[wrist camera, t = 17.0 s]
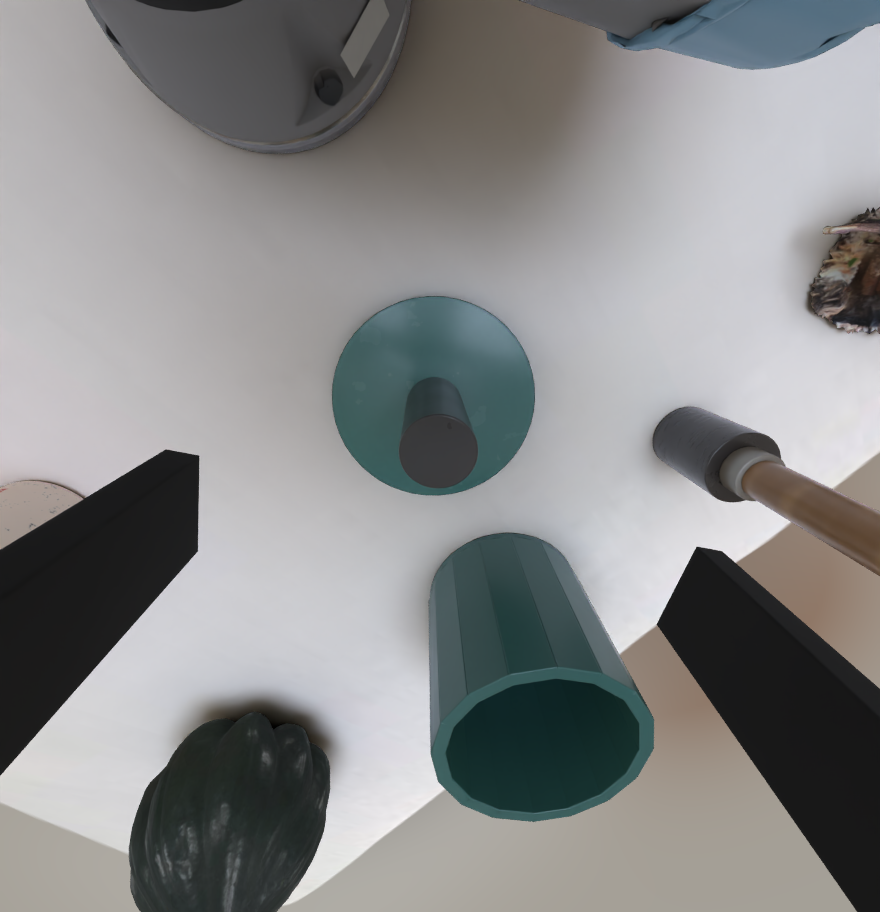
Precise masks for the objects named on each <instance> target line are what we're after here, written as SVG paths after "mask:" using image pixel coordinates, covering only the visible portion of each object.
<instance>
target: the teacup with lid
mask: <svg viewBox="0 0 880 912" xmlns="http://www.w3.org/2000/svg"><path fill="white" fill-rule="evenodd" d="M82 500H83V498H82V497H80V496H79V495H77V494H75V493H74V492H72V491H70V490H68V489H65V488H63V487H60V486H58V485H54V484H51V483H46V482H41V481H20V482H14V483H10V484H7V485H4V486H2V487H0V549H2V548H4V547H5V546H7V545H9V544H10V543H12V542H14V541H15V540H17V539H19V538H20V537H22V536H24V535H25V534H27V533H29V532H30V531H32V530H34V529H35V528H37V527H39V526H40V525H42V524H43V523H45V522H47V521H48V520H50V519H52V518H53V517H55V516H57V515H58V514H60V513H62V512H63V511H65V510H67V509H68V508H70V507H72V506H73V505H75V504H77V503H78V502H80V501H82Z"/></svg>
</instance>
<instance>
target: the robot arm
mask: <svg viewBox="0 0 880 912" xmlns="http://www.w3.org/2000/svg"><path fill="white" fill-rule="evenodd" d="M85 1H86V2H87V4H88V6H89V8H90V10H91V11H92V13H93V15H94V17H95V19H96V20H97V22H98V23H99V25H100V27H101V28H102V30H103V31H104V33H105V34H106V36H107V37H108V39H109V40H110V42H111V43H112V45H113V46H114V47H115V49H116V50H117V52H118V53H119V54H120V56H121V57H122V58H123V60H124V61H125V62H126V63H127V65H128V66H129V67H130V69H131V70H132V71H133V72H134V73H135V74H136V75H137V77H138V78H139V79H140V80H141V81H142V82H143V83H144V84H145V85H146V86H147V87H148V88H149V89H150V90H151V91H152V92H153V93H154V94H155V95H156V96H157V97H158V98H159V99H160V100H162V101H163V102H164V103H165V104H167V105H168V106H169V107H170V108H172V109H173V110H174V111H175V112H177V113H178V114H180V115H181V116H182V117H184V118H185V119H186V120H188V121H189V122H190V123H192V124H193V125H195V126H196V127H198V128H199V129H201V130H202V131H204V132H206V133H207V134H209V135H211V136H213V137H215V138H216V139H218V140H221V141H223V142H225V143H228V144H230V145H233V146H236V147H239V148H242V149H245V150H250V151H255V152H259V153H270V154H287V153H294V152H301V151H305V150H309V149H312V148H315V147H318V146H320V145H323V144H325V143H328V142H329V141H331V140H333V139H335V138H337V137H339V136H340V135H341V134H343V133H344V132H346V131H347V130H349V129H350V128H351V127H352V126H353V125H354V124H356V123H357V122H358V121H359V120H360V119H361V118H362V117H363V116H364V115H365V114H366V113H367V112H368V110H369V109H370V108H371V107H372V106H373V104H374V103H375V102H376V100H377V99H378V97H379V96H380V95H381V93H382V91H383V90H384V88H385V86H386V84H387V83H388V81H389V79H390V77H391V75H392V73H393V70H394V68H395V66H396V63H397V61H398V58H399V55H400V53H401V50H402V46H403V43H404V39H405V35H406V32H407V26H408V21H409V16H410V8H411V0H85ZM519 1H522V2H525V3H528V4H531V5H534V6H536V7H539V8H542V9H545V10H548V11H551V12H554V13H556V14H559V15H562V16H565V17H568V18H571V19H574V20H576V21H579V22H582V23H585V24H588V25H591V26H594V27H596V28H599V29H602V30H605V31H606V32H607V39H608V40H609V41H610V42H612V43H613V44H615V45H617V46H618V47H620V48H624V49H628V50H633V51H640V50H649V49H654V48H660V49H664V50H668V51H671V52H675V53H679V54H683V55H687V56H691V57H695V58H699V59H703V60H707V61H711V62H715V63H719V64H723V65H726V66H730V67H734V68H739V69H751V70H754V69H768V68H776V67H781V66H785V65H789V64H794V63H798V62H801V61H804V60H807V59H810V58H813V57H816V56H818V55H820V54H822V53H824V52H826V51H828V50H830V49H832V48H834V47H836V46H838V45H840V44H842V43H843V42H845V41H847V40H848V39H850V38H851V37H853V36H854V35H855V34H857V33H858V32H860V31H861V30H862V29H864V28H865V27H868V26H873V25H874V24H878V23H880V0H519ZM198 501H199V456H198V455H193V454H187V453H182V452H176V451H171V450H164V451H163V452H161V453H159V454H158V455H156V456H154V457H153V458H151V459H149V460H148V461H146V462H144V463H143V464H141V465H139V466H138V467H136V468H134V469H133V470H131V471H130V472H128V473H126V474H125V475H123V476H121V477H120V478H118V479H116V480H115V481H113V482H111V483H110V484H108V485H106V486H105V487H103V488H101V489H100V490H98V491H96V492H95V493H93V494H91V495H90V496H88V497H86V498H85V499H83V500H82V501H80V502H78V503H77V504H75V505H73V506H72V507H70V508H68V509H67V510H65V511H63V512H62V513H60V514H58V515H57V516H55V517H53V518H52V519H50V520H48V521H47V522H45V523H43V524H42V525H40V526H39V527H37V528H35V529H34V530H32V531H30V532H29V533H27V534H25V535H24V536H22V537H20V538H19V539H17V540H15V541H14V542H12V543H10V544H9V545H7V546H5V547H4V548H2V549H0V775H1V774H2V773H3V772H4V771H5V770H6V768H7V767H8V766H9V765H10V764H11V763H12V762H13V761H14V759H15V758H16V757H17V756H18V755H19V754H20V753H21V751H22V750H23V749H24V748H25V747H26V746H27V745H28V743H29V742H30V741H31V740H32V739H33V738H34V737H35V736H36V734H37V733H38V732H39V731H40V730H41V729H42V728H43V726H44V725H45V724H46V723H47V722H48V721H49V720H50V718H51V717H52V716H53V715H54V714H55V713H56V712H57V711H58V709H59V708H60V707H61V706H62V705H63V704H64V703H65V701H66V700H67V699H68V698H69V697H70V696H71V695H72V694H73V692H74V691H75V690H76V689H77V688H78V687H79V686H80V684H81V683H82V682H83V681H84V680H85V679H86V678H87V676H88V675H89V674H90V673H91V672H92V671H93V670H94V669H95V667H96V666H97V665H98V664H99V663H100V662H101V661H102V659H103V658H104V657H105V656H106V655H107V654H108V653H109V651H110V650H111V649H112V648H113V647H114V646H115V645H116V644H117V642H118V641H119V640H120V639H121V638H122V637H123V636H124V634H125V633H126V632H127V631H128V630H129V629H130V628H131V626H132V625H133V624H134V623H135V622H136V621H137V620H138V619H139V617H140V616H141V615H142V614H143V613H144V612H145V611H146V609H147V608H148V607H149V606H150V605H151V604H152V603H153V602H154V600H155V599H156V598H157V597H158V596H159V595H160V594H161V592H162V591H163V590H164V589H165V588H166V587H167V586H168V584H169V583H170V582H171V581H172V580H173V579H174V578H175V577H176V575H177V574H178V573H179V572H180V571H181V570H182V569H183V567H184V566H185V565H186V564H187V563H188V562H189V561H190V559H191V558H192V557H193V556H194V555H195V554H196V553H197V552H198ZM657 625H658V627H659V628H660V630H661V631H662V633H663V634H664V635H665V637H666V638H667V640H668V641H669V643H670V644H671V645H672V647H673V648H674V650H675V651H676V652H677V654H678V656H679V657H680V658H681V660H682V661H683V663H684V664H685V666H686V667H687V668H688V670H689V671H690V673H691V674H692V675H693V677H694V678H695V680H696V681H697V683H698V684H699V685H700V687H701V688H702V690H703V691H704V693H705V694H706V696H707V697H708V699H709V700H710V701H711V703H712V704H713V706H714V707H715V708H716V710H717V711H718V713H719V714H720V716H721V717H722V719H723V720H724V721H725V723H726V724H727V726H728V727H729V729H730V730H731V732H732V733H733V734H734V736H735V737H736V739H737V740H738V742H739V743H740V744H741V746H742V747H743V749H744V750H745V752H746V753H747V754H748V756H749V757H750V759H751V760H752V761H753V763H754V764H755V766H756V767H757V769H758V770H759V772H760V773H761V775H762V776H763V777H764V778H765V780H766V782H767V783H768V785H769V786H770V787H771V789H772V790H773V792H774V793H775V795H776V796H777V797H778V799H779V800H780V802H781V803H782V805H783V806H784V807H785V809H786V810H787V812H788V813H789V815H790V816H791V818H792V819H793V820H794V822H795V823H796V825H797V826H798V828H799V829H800V830H801V832H802V833H803V835H804V836H805V837H806V839H807V840H808V842H809V843H810V845H811V846H812V848H813V849H814V850H815V852H816V853H817V855H818V856H819V858H820V859H821V861H822V862H823V863H824V865H825V866H826V868H827V869H828V870H829V872H830V873H831V875H832V876H833V878H834V879H835V880H836V882H837V883H838V885H839V886H840V888H841V889H842V891H843V892H844V893H845V895H846V896H847V898H848V899H849V901H850V902H851V904H852V905H853V906H854V908H855V909H856V911H857V912H880V689H879V688H878V687H877V686H876V685H875V684H874V683H872V682H871V681H870V680H869V679H868V678H867V677H865V676H864V675H863V674H862V673H861V672H860V671H859V670H857V669H856V668H855V667H854V666H853V665H852V664H851V663H849V662H848V661H847V660H846V659H845V658H844V657H842V656H841V655H840V654H839V653H838V652H837V651H836V650H835V649H833V648H832V647H831V646H830V645H829V644H828V643H826V642H825V641H824V640H823V639H822V638H821V637H820V636H818V635H817V634H816V633H815V632H814V631H813V630H812V629H810V628H809V627H808V626H807V625H806V624H805V623H804V622H802V621H801V620H800V619H799V618H798V617H797V616H796V615H794V614H793V613H792V612H791V611H790V610H789V609H788V608H786V607H785V606H784V605H783V604H782V603H780V601H778V600H777V599H776V598H775V597H774V596H773V595H771V594H770V593H769V592H768V591H767V590H766V589H765V588H763V587H762V586H761V585H760V584H759V583H758V582H757V581H755V580H754V579H753V578H752V577H751V576H750V575H749V574H747V573H746V572H745V571H744V570H743V569H742V568H741V567H739V566H738V565H737V564H736V563H735V562H734V561H732V560H731V559H730V558H729V557H728V556H727V555H726V554H724V553H723V552H722V551H718V550H712V549H707V548H701V547H696V549H695V551H694V553H693V555H692V557H691V559H690V561H689V563H688V565H687V567H686V568H685V570H684V572H683V574H682V576H681V578H680V580H679V582H678V584H677V586H676V588H675V590H674V592H673V594H672V596H671V598H670V599H669V601H668V603H667V605H666V607H665V609H664V611H663V613H662V615H661V617H660V619H659V621H658V623H657Z"/></svg>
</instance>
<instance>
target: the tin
mask: <svg viewBox="0 0 880 912" xmlns="http://www.w3.org/2000/svg"><path fill="white" fill-rule="evenodd" d="M429 666H430V742H431V757H432V761H433V764H434V768H435V772H436V775H437V779H438V782H439V783H440V784H441V785H442V786H443V787H444V788H445V789H446V790H447V791H448V792H449V793H450V794H451V795H452V796H453V797H454V798H455V799H456V800H457V801H458V802H459V803H460V804H461V805H463V806H466V807H468V808H471V809H473V810H476V811H478V812H480V813H483V814H485V815H488V816H490V817H494V818H500V819H510V820H521V821H532V822H535V821H541V820H548V819H555V818H562V817H568V816H572V815H575V814H577V813H580V812H582V811H584V810H587V809H589V808H592V807H594V806H597V805H599V804H601V803H604V802H606V801H608V800H610V799H611V798H612V797H613V796H615V795H616V794H617V793H618V792H620V791H621V790H622V789H624V788H625V787H626V786H627V785H629V784H630V783H631V782H632V781H633V780H635V779H636V777H638V775H639V773H640V772H641V770H642V768H643V767H644V765H645V763H646V761H647V760H648V758H649V756H650V754H651V753H652V751H653V749H654V719H653V716H652V714H651V712H650V710H649V709H648V707H647V705H646V704H645V701H644V700H643V698H642V696H641V694H640V692H639V690H638V689H637V687H636V685H635V683H634V681H633V679H632V677H631V676H630V674H629V672H628V670H627V668H626V666H625V664H624V663H623V661H622V659H621V657H620V655H619V653H618V652H617V650H616V648H615V646H614V644H613V642H612V641H611V639H610V637H609V635H608V633H607V631H606V629H605V628H604V626H603V624H602V622H601V620H600V618H599V617H598V615H597V613H596V611H595V609H594V607H593V606H592V604H591V602H590V600H589V598H588V596H587V594H586V593H585V591H584V589H583V587H582V585H581V583H580V582H579V580H578V578H577V576H576V575H575V573H574V571H573V570H572V568H571V567H570V565H569V563H568V561H567V560H566V559H565V557H564V556H563V555H562V554H561V553H560V552H559V551H558V550H557V549H556V548H554V547H553V546H551V545H550V544H548V543H546V542H545V541H543V540H540V539H538V538H535V537H532V536H528V535H524V534H516V533H502V534H493V535H489V536H484V537H481V538H478V539H476V540H473V541H471V542H469V543H467V544H465V545H463V546H462V547H460V548H459V549H457V550H456V551H455V552H454V553H452V554H451V555H450V556H449V557H448V558H447V559H446V560H445V561H444V562H443V564H442V565H441V566H440V568H439V569H438V571H437V573H436V575H435V577H434V579H433V582H432V585H431V591H430V599H429Z"/></svg>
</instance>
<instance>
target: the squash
mask: <svg viewBox="0 0 880 912" xmlns="http://www.w3.org/2000/svg"><path fill="white" fill-rule="evenodd" d="M329 793H330V766H329V761H328V758H327V756H326V755H325V753H324V752H323V750H322V749H321V748H319V747H318V746H317V745H315V744H313V743H311V742H309V740H308V736H307V734H306V732H305V730H304V729H303V728H302V727H301V726H299V725H294V724H289V723H288V724H283V725H280V726H278V727H276V728H275V729H272V726H271V723H270V722H269V720H268V719H267V717H266V716H265V715H263V714H260V713H258V712H251V713H248V714H247V715H245V716H243V717H242V718H240V719H239V720H238V721H237V722H236V723H235V722H233V721H232V720H229V719H216V720H213V721H210V722H207V723H205V724H203V725H201V726H200V727H199V728H197V729H196V730H195V731H193V732H192V733H191V734H190V735H189V736H188V737H187V738H186V739H185V740H184V741H183V742H182V743H181V744H180V746H179V747H178V748H177V750H176V751H175V752H174V753H173V755H172V757H171V759H170V761H169V762H168V764H167V766H166V767H165V768H164V769H163V770H162V771H161V772H160V773H159V774H158V775H157V776H156V777H155V778H154V779H153V780H152V781H151V782H150V784H149V785H148V787H147V788H146V790H145V792H144V795H143V797H142V800H141V803H140V805H139V808H138V810H137V813H136V817H135V820H134V823H133V827H132V831H131V838H130V845H129V862H130V867H131V879H130V880H131V881H130V888H131V893H132V895H133V898H134V901H135V903H136V906H137V907H138V909H139V910H140V911H141V912H277V911H278V909H279V908H280V907H281V906H282V905H283V904H284V903H285V902H286V900H287V899H288V898H289V896H290V895H291V893H292V892H293V890H294V889H295V888H296V887H297V885H298V884H299V882H300V881H301V879H302V878H303V876H304V874H305V873H306V871H307V869H308V867H309V866H310V864H311V862H312V860H313V858H314V856H315V853H316V851H317V848H318V846H319V843H320V840H321V838H322V835H323V832H324V827H325V821H326V808H327V804H328V798H329Z"/></svg>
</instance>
